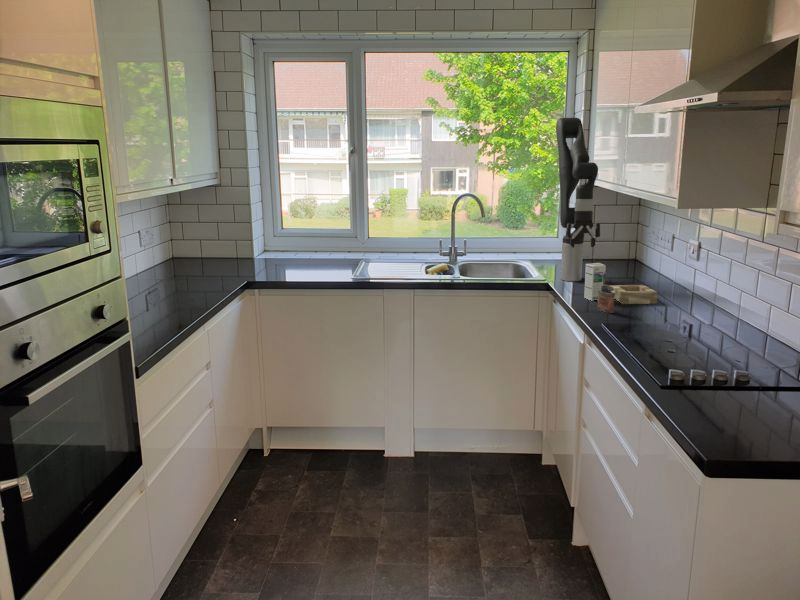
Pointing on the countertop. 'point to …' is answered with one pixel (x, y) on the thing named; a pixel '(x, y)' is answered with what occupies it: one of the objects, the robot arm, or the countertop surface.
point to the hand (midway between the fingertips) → (582, 247)
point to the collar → (634, 294)
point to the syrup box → (594, 280)
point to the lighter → (606, 299)
